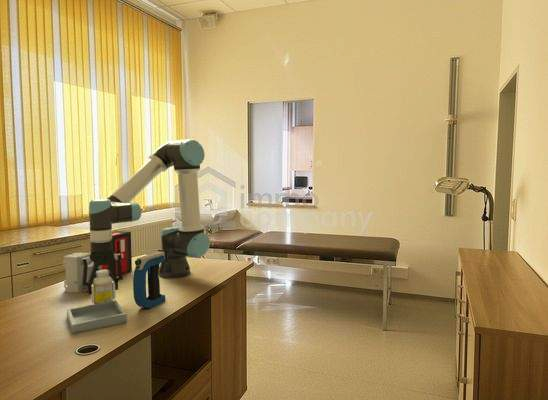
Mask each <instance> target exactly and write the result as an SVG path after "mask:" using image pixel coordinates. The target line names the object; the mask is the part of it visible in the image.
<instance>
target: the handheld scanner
mask: <svg viewBox="0 0 548 400" xmlns="http://www.w3.org/2000/svg"><path fill="white" fill-rule="evenodd" d="M167 261H168V257H167V250H162V249H157V252H156V251H155V252H153V253H150V254H146V255H144V256H140V257H137V258H136V260H134V264H135V267H134V271H133V278H132V286H133V287H132V290H133V300H134V302H135V304H136V305H137V306H138V307H139V308H145V309H146V308H147V309H153V308H154V307H156V306H158V305H160V304H162V303H164V302H165V301H166V294H161V286H160V285H161V284H160V281H161V280H160V276H159V267H160V263H161V262H167Z"/></svg>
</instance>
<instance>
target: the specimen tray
mask: <svg viewBox="0 0 548 400" xmlns="http://www.w3.org/2000/svg"><path fill="white" fill-rule="evenodd" d="M66 319H67V323H68V324H69V327H70V331H71V333H72V335H76V334H81V333H85V332H90V331H95V330H99V329H103V328H109V327H113V326H118V325H121V324H126V323H127V322H128V321H127V313H126V311H124V309H123V307H122V306H121V305H120V304H119V302H118V301H117V300H116V299H115V300H113V301H109V302H103V303H98V304H94V303H93V304H87V305H83V306H77V307H72V308H66Z"/></svg>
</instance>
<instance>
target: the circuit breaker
mask: <svg viewBox="0 0 548 400" xmlns="http://www.w3.org/2000/svg"><path fill="white" fill-rule="evenodd" d="M90 254H91V252H89V253H88V252H74V253H73V252H72V253H71V254H67V255H63V261H62V263H63V265H62V267H65V280H63V283H64V286H63V288H64V293H65V292H68V293H79V294H80V293H81V294H82V293H83V292H87V291H88V286H86V285H85V286H84V285H83V284H82V273H83V262H82V258H87V257H89V256H90ZM93 264H94V263H93V261H92V260H91V259H90V260H89V263H88V268H87V282H88V279H89V276H90V273H91V271H92V268H93ZM99 270H102V265H101V266H98V269H97V271H99ZM95 278H96V274H95V277H94V279H95ZM92 284H93V283H92Z"/></svg>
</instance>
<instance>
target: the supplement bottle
mask: <svg viewBox="0 0 548 400" xmlns="http://www.w3.org/2000/svg"><path fill="white" fill-rule="evenodd" d="M112 281H113V279H112V278H111V277H110V276H109V270H99V271H96V278H95V279H94V280H93V285H94V299H95V303H93V304H98V303H103V302H109V301H114V300H113V286H112Z"/></svg>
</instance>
